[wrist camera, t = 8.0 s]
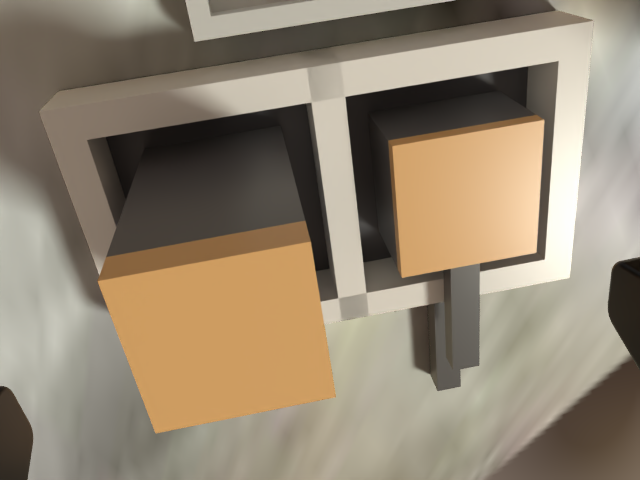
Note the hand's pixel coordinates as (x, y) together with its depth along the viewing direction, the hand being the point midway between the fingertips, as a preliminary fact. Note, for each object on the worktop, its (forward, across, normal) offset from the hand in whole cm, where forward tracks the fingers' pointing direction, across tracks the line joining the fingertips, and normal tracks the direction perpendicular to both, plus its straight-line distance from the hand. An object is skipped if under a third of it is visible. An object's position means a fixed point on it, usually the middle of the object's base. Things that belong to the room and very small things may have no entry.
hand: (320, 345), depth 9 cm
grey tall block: (+12, +2, +3) cm, 12 cm away
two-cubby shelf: (+12, -2, +3) cm, 13 cm away
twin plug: (+12, -5, +7) cm, 15 cm away
